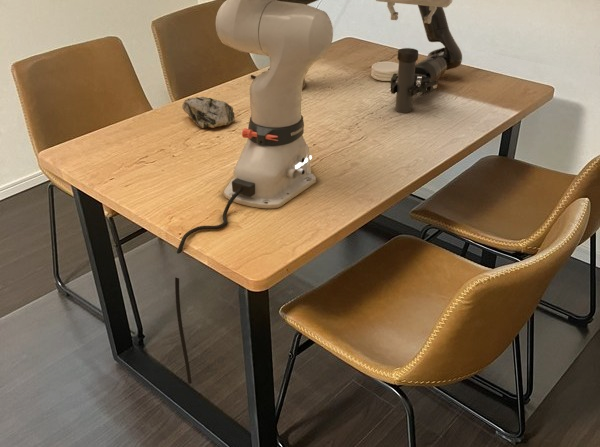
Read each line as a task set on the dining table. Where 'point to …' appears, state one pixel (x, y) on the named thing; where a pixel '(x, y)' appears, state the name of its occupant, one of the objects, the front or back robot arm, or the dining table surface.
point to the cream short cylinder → (384, 70)
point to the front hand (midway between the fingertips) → (410, 21)
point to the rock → (208, 112)
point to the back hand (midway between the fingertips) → (401, 92)
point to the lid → (407, 55)
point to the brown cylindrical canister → (405, 86)
